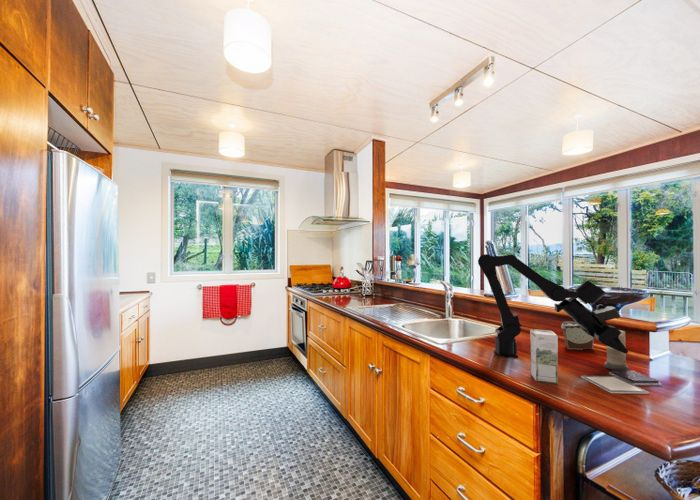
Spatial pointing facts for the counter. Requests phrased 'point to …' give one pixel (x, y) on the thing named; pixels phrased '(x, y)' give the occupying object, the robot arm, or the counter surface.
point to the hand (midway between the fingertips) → (621, 349)
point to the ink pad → (635, 378)
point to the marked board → (614, 384)
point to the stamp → (616, 357)
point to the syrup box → (544, 355)
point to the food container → (576, 336)
